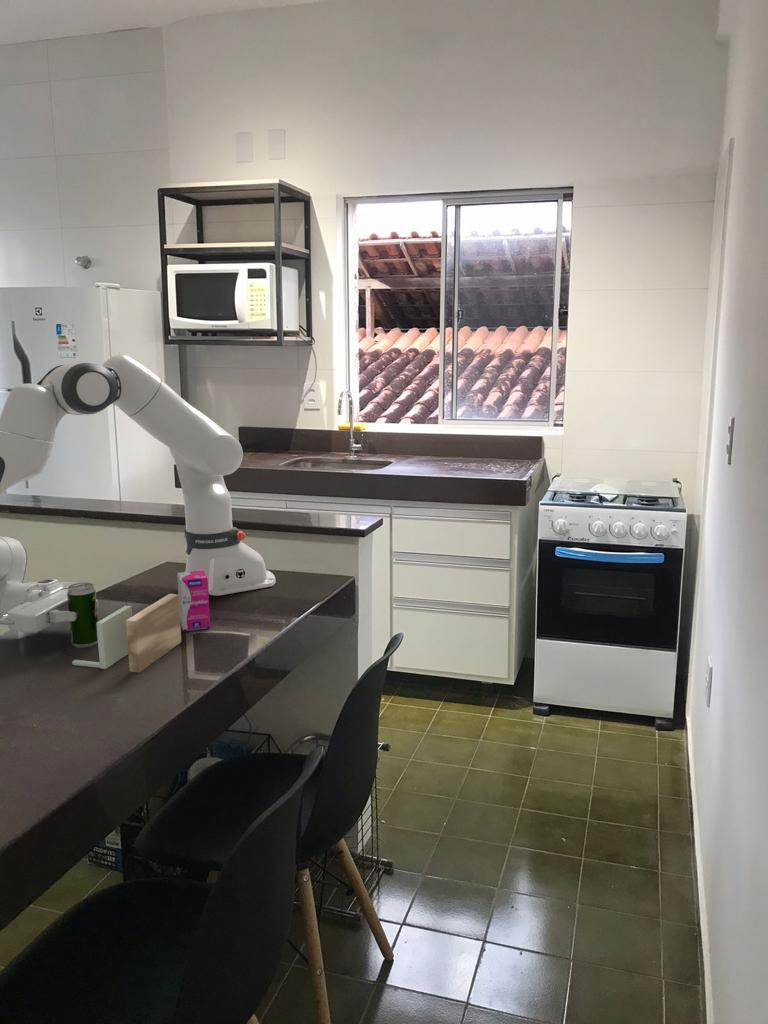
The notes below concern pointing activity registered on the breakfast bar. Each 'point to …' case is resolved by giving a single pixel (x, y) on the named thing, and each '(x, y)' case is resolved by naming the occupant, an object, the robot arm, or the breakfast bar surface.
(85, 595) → the beer can
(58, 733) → the breakfast bar surface
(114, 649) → the white legged plate
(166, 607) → the oak board
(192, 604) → the supplement box
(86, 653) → the breakfast bar surface
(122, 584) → the breakfast bar surface
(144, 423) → the robot arm
